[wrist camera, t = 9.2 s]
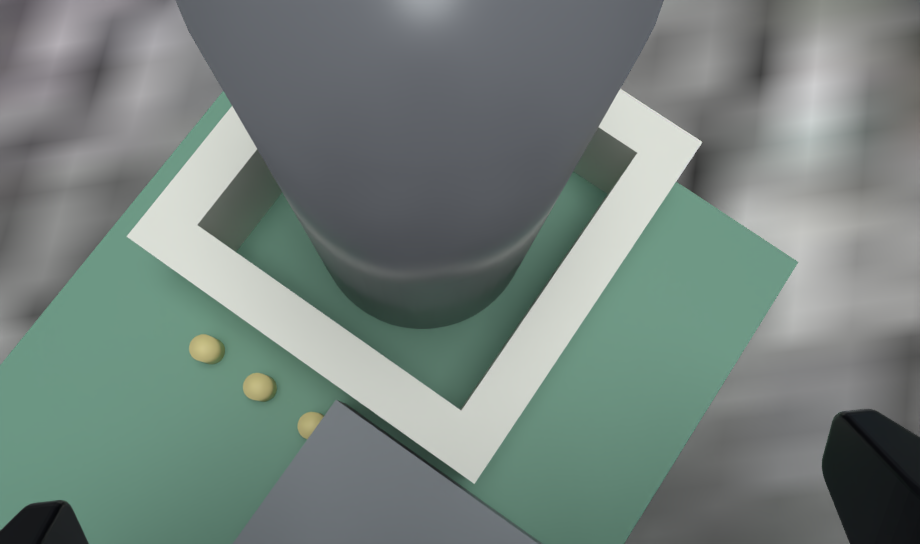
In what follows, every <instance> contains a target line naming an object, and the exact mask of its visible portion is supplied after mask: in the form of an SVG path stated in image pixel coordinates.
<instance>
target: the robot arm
mask: <svg viewBox="0 0 920 544" xmlns="http://www.w3.org/2000/svg"><path fill="white" fill-rule="evenodd" d="M822 471H823V476H824V479H825V482H826V485H827V487H828V490H829V492H830V495H831V497H832V500H833V502H834V505H835V507H836V510H837V512H838V515H839V518H840V520H841V523H842V525H843V528H844V530H845V533H846V535H847V538H848V540H849V543H850V544H920V437H918V436H917V435H915V434H914V433H912V432H910V431H909V430H907V429H905V428H904V427H902V426H900V425H899V424H897V423H896V422H894V421H892V420H891V419H889V418H887V417H886V416H884V415H882V414H881V413H879V412H877V411H875V410H872V409H860V410H851V411H842V412H839V413H838V414H837V415H836V416H835V417H834V419H833V421H832V425H831V428H830V432H829V436H828V440H827V443H826V447H825V451H824V454H823V459H822ZM0 544H89V543H88V540H87V538H86V536H85V534H84V532H83V530H82V527H81V525H80V523H79V521H78V519H77V517H76V515H75V512H74V510H73V508H72V507H71V505H70V504H69V503H68V502H67V501H65V500H54V501H45V502H37V503H32V504H29V505H27V506H26V507H24V508H23V509H22V510H21V511H20V512H19V513H18V514H17V515H15V516H14V517H13V518H12V519H11V520H10V521H9V522H8V523H7V524H6V525H5V526H4V527H3V528H2V529H1V530H0Z"/></svg>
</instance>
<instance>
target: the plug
mask: <svg viewBox="0 0 920 544" xmlns="http://www.w3.org/2000/svg"><path fill="white" fill-rule="evenodd" d="M663 1H664V0H176V2H177V5H178V7H179V10H180V12H181V14H182V17H183V19H184V21H185V23H186V26H187V28H188V30H189V33H190V34H191V36H192V38H193V39H194V41H195V43H196V45H197V46H198V48H199V50H200V51H201V53H202V55H203V57H204V58H205V60H206V62H207V64H208V65H209V67H210V69H211V70H212V72H213V74H214V76H215V77H216V79H217V81H218V82H219V84H220V86H221V88H222V89H223V91H224V93H225V94H226V96H227V98H228V100H229V101H230V103H231V105H232V106H233V108H234V110H235V112H236V113H237V115H238V117H239V118H240V120H241V122H242V124H243V125H244V127H245V129H246V131H247V132H248V134H249V136H250V137H251V139H252V141H253V143H254V144H255V146H256V148H257V149H258V151H259V153H260V155H261V156H262V158H263V160H264V161H265V163H266V165H267V167H268V168H269V170H270V172H271V173H272V175H273V177H274V179H275V180H276V182H277V184H278V186H279V187H280V189H281V191H282V192H283V194H284V196H285V198H286V199H287V201H288V203H289V204H290V206H291V208H292V210H293V211H294V213H295V215H296V216H297V218H298V220H299V222H300V223H301V225H302V227H303V228H304V230H305V232H306V234H307V235H308V237H309V239H310V241H311V242H312V244H313V246H314V247H315V249H316V251H317V253H318V254H319V256H320V258H321V259H322V261H323V263H324V265H325V266H326V268H327V270H328V271H329V273H330V275H331V276H332V278H333V280H334V281H335V283H336V285H337V286H338V287H339V288H340V290H341V291H342V292H343V293H344V295H345V296H346V297H347V298H348V299H349V300H350V301H352V302H353V303H354V304H355V305H356V306H357V307H359V308H360V309H362V310H363V311H364V312H366V313H367V314H369V315H371V316H373V317H375V318H377V319H379V320H381V321H384V322H387V323H389V324H392V325H396V326H401V327H405V328H415V329H432V328H439V327H445V326H449V325H452V324H456V323H459V322H462V321H464V320H466V319H468V318H470V317H473V316H474V315H476V314H477V313H479V312H481V311H482V310H484V309H485V308H486V307H488V306H489V305H490V304H491V303H492V302H494V301H495V300H496V299H497V298H498V297H499V295H500V294H501V293H502V292H503V291H504V290H505V288H506V287H507V286H508V284H509V283H510V281H511V280H512V278H513V276H514V275H515V273H516V271H517V269H518V268H519V266H520V264H521V262H522V261H523V259H524V257H525V255H526V254H527V252H528V250H529V248H530V247H531V245H532V243H533V241H534V239H535V238H536V236H537V234H538V232H539V231H540V229H541V227H542V225H543V224H544V222H545V220H546V218H547V217H548V215H549V213H550V211H551V210H552V208H553V206H554V204H555V203H556V201H557V199H558V197H559V195H560V194H561V192H562V190H563V188H564V187H565V185H566V183H567V181H568V180H569V178H570V176H571V174H572V173H573V171H574V169H575V167H576V166H577V164H578V162H579V160H580V159H581V157H582V155H583V153H584V151H585V150H586V148H587V146H588V144H589V143H590V141H591V139H592V137H593V136H594V134H595V132H596V130H597V129H598V127H599V125H600V123H601V122H602V120H603V118H604V116H605V115H606V113H607V111H608V109H609V107H610V106H611V104H612V102H613V100H614V99H615V97H616V95H617V93H618V92H619V90H620V88H621V86H622V85H623V83H624V81H625V79H626V78H627V76H628V74H629V72H630V71H631V69H632V67H633V65H634V63H635V62H636V60H637V58H638V56H639V55H640V53H641V51H642V49H643V47H644V45H645V43H646V41H647V40H648V38H649V36H650V34H651V32H652V30H653V28H654V26H655V24H656V21H657V18H658V15H659V12H660V9H661V7H662V4H663Z"/></svg>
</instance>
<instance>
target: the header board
mask: <svg viewBox="0 0 920 544" xmlns="http://www.w3.org/2000/svg"><path fill="white" fill-rule="evenodd" d="M701 143H702V142H701V141H700V140H698V139H697V138H695V137H694V136H692V135H691V134H689V133H688V132H686V131H684V130H683V129H681V128H680V127H678V126H677V125H675V124H674V123H672V122H671V121H669V120H668V119H666V118H664V117H663V116H661V115H660V114H658V113H657V112H655V111H654V110H652V109H651V108H649V107H648V106H646V105H645V104H643V103H641V102H640V101H638V100H637V99H635V98H634V97H632V96H631V95H629V94H628V93H626V92H625V91H623V90H621V89H620V90H619V92H618V93H617V95H616V97H615V99H614V100H613V102H612V104H611V106H610V107H609V109H608V111H607V113H606V115H605V116H604V118H603V120H602V122H601V123H600V125H599V127H598V129H597V130H596V132H595V134H594V136H593V137H592V139H591V141H590V143H589V144H588V146H587V148H586V150H585V151H584V153H583V155H582V157H581V159H580V160H579V162H578V164H577V166H576V167H575V169H574V171H573V173H572V174H571V176H570V178H569V180H568V181H567V183H566V185H565V187H564V188H563V190H562V192H561V194H560V195H559V197H558V199H557V201H556V203H555V204H554V206H553V208H552V210H551V211H550V213H549V215H548V217H547V218H546V220H545V222H544V224H543V225H542V227H541V229H540V231H539V232H538V234H537V236H536V238H535V239H534V241H533V243H532V245H531V247H530V248H529V250H528V252H527V254H526V255H525V257H524V259H523V261H522V262H521V264H520V266H519V268H518V269H517V271H516V273H515V275H514V276H513V278H512V280H511V281H510V283H509V284H508V286H507V287H506V288H505V290H504V291H503V292H502V293H501V294H500V295H499V297H498V298H497V299H496V300H495V301H494V302H492V303H491V304H490V305H489V306H488V307H486V308H485V309H484V310H482V311H481V312H479V313H477V314H476V315H474V316H473V317H470V318H468V319H466V320H464V321H462V322H459V323H456V324H452V325H449V326H445V327H439V328H432V329H415V328H405V327H401V326H396V325H392V324H389V323H387V322H384V321H381V320H379V319H377V318H375V317H373V316H371V315H369V314H367V313H366V312H364V311H363V310H362V309H360V308H359V307H357V306H356V305H355V304H354V303H353V302H352V301H350V300H349V299H348V298H347V297H346V296H345V295H344V293H343V292H342V291H341V290H340V288H339V287H338V286H337V285H336V283H335V281H334V280H333V278H332V276H331V275H330V273H329V271H328V270H327V268H326V266H325V265H324V263H323V261H322V259H321V258H320V256H319V254H318V253H317V251H316V249H315V247H314V246H313V244H312V242H311V241H310V239H309V237H308V235H307V234H306V232H305V230H304V228H303V227H302V225H301V223H300V222H299V220H298V218H297V216H296V215H295V213H294V211H293V210H292V208H291V206H290V204H289V203H288V201H287V199H286V198H285V196H284V194H283V192H282V191H281V189H280V187H279V186H278V184H277V182H276V180H275V179H274V177H273V175H272V173H271V172H270V170H269V168H268V167H267V165H266V163H265V161H264V160H263V158H262V156H261V155H260V153H259V151H258V149H257V148H256V146H255V144H254V143H253V141H252V139H251V137H250V136H249V134H248V132H247V131H246V129H245V127H244V125H243V124H242V122H241V120H240V118H239V117H238V115H237V113H236V112H235V110H234V108H233V106H232V105H231V103H230V101H229V100H228V98H227V96H226V94H225V93H224V91H223V92H222V93H221V95H220V96H219V97H218V98H217V99H216V101H215V102H214V103H213V104H212V106H211V107H210V108H209V109H208V111H207V112H206V113H205V114H204V115H203V117H202V118H201V119H200V120H199V122H198V123H197V124H196V125H195V127H194V128H193V129H192V130H191V131H190V133H189V134H188V135H187V136H186V138H185V139H184V140H183V141H182V143H181V144H180V145H179V146H178V147H177V149H176V150H175V151H174V152H173V154H172V155H171V156H170V157H169V158H168V160H167V161H166V162H165V163H164V165H163V166H162V167H161V168H160V170H159V171H158V172H157V173H156V174H155V176H154V177H153V178H152V179H151V181H150V182H149V183H148V184H147V186H146V187H145V188H144V189H143V190H142V192H141V193H140V194H139V195H138V197H137V198H136V199H135V200H134V202H133V203H132V204H131V205H130V206H129V208H128V209H127V210H126V211H125V213H124V214H123V215H122V216H121V217H120V219H119V220H118V221H117V222H116V224H115V225H114V226H113V227H112V229H111V230H110V231H109V232H108V233H107V235H106V236H105V237H104V238H103V240H102V241H101V242H100V243H99V245H98V246H97V247H96V248H95V249H94V251H93V252H92V253H91V254H90V256H89V257H88V258H87V259H86V261H85V262H84V263H83V264H82V265H81V267H80V268H79V269H78V270H77V272H76V273H75V274H74V275H73V277H72V278H71V279H70V280H69V281H68V283H67V284H66V285H65V286H64V288H63V289H62V290H61V291H60V292H59V294H58V295H57V296H56V297H55V299H54V300H53V301H52V302H51V304H50V305H49V306H48V307H47V308H46V310H45V311H44V312H43V313H42V315H41V316H40V317H39V318H38V320H37V321H36V322H35V323H34V324H33V326H32V327H31V328H30V329H29V331H28V332H27V333H26V334H25V336H24V337H23V338H22V339H21V340H20V342H19V343H18V344H17V345H16V347H15V348H14V349H13V350H12V351H11V353H10V354H9V355H8V356H7V358H6V359H5V360H4V361H3V363H2V364H1V365H0V530H1V529H2V528H3V527H4V526H5V525H6V524H7V523H8V522H9V521H10V520H11V519H12V518H13V517H14V516H15V515H17V514H18V513H19V512H20V511H21V510H22V509H23V508H24V507H26V506H27V505H29V504H32V503H37V502H45V501H54V500H65V501H67V502H68V503H69V504H70V505H71V507H72V508H73V510H74V512H75V515H76V517H77V519H78V521H79V523H80V525H81V527H82V530H83V532H84V534H85V536H86V538H87V540H88V543H89V544H624V543H625V541H626V540H627V538H628V537H629V535H630V533H631V532H632V530H633V528H634V527H635V525H636V524H637V522H638V520H639V519H640V517H641V515H642V514H643V512H644V511H645V509H646V507H647V506H648V504H649V503H650V501H651V499H652V498H653V496H654V494H655V493H656V491H657V490H658V488H659V486H660V485H661V483H662V482H663V480H664V478H665V477H666V475H667V473H668V472H669V470H670V469H671V467H672V465H673V464H674V462H675V461H676V459H677V457H678V456H679V454H680V452H681V451H682V449H683V448H684V446H685V444H686V443H687V441H688V440H689V438H690V436H691V435H692V433H693V431H694V430H695V428H696V427H697V425H698V423H699V422H700V420H701V419H702V417H703V415H704V414H705V412H706V410H707V409H708V407H709V406H710V404H711V402H712V401H713V399H714V397H715V396H716V394H717V393H718V391H719V389H720V388H721V386H722V385H723V383H724V381H725V380H726V378H727V376H728V375H729V373H730V372H731V370H732V368H733V367H734V365H735V364H736V362H737V360H738V359H739V357H740V355H741V354H742V352H743V351H744V349H745V347H746V346H747V344H748V343H749V341H750V339H751V338H752V336H753V334H754V333H755V331H756V330H757V328H758V326H759V325H760V323H761V322H762V320H763V318H764V317H765V315H766V313H767V312H768V310H769V309H770V307H771V305H772V304H773V302H774V300H775V299H776V297H777V296H778V294H779V292H780V291H781V289H782V288H783V286H784V284H785V283H786V281H787V279H788V278H789V276H790V275H791V273H792V271H793V270H794V268H795V267H796V265H797V263H798V262H797V261H796V260H794V259H793V258H791V257H790V256H788V255H787V254H785V253H784V252H782V251H781V250H779V249H778V248H776V247H774V246H773V245H771V244H770V243H768V242H767V241H765V240H764V239H762V238H761V237H759V236H758V235H756V234H755V233H753V232H752V231H750V230H749V229H747V228H746V227H744V226H743V225H741V224H740V223H738V222H736V221H735V220H733V219H732V218H730V217H729V216H727V215H726V214H724V213H723V212H721V211H720V210H718V209H717V208H715V207H714V206H712V205H711V204H709V203H708V202H706V201H705V200H703V199H701V198H700V197H698V196H697V195H695V194H694V193H692V192H691V191H689V190H688V189H686V188H685V187H683V186H682V185H680V184H679V183H677V182H676V181H677V179H678V178H679V176H680V175H681V173H682V172H683V170H684V169H685V167H686V166H687V164H688V163H689V161H690V160H691V158H692V157H693V155H694V154H695V152H696V151H697V149H698V148H699V146H700V145H701Z"/></svg>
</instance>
